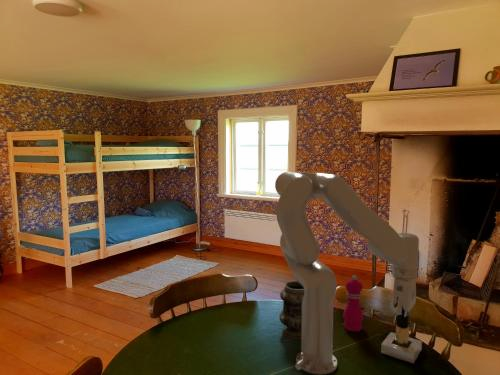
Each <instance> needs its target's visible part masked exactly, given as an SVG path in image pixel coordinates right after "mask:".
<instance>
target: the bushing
mask: <svg viewBox="0 0 500 375" xmlns="http://www.w3.org/2000/svg"><path fill="white" fill-rule="evenodd" d="M395 333H396V336H395V345H398V346H401V347H405V348H408V341H409V337H410V326H408V327H407V329H405V328H401V327H398V326H397V324H396V325H395Z"/></svg>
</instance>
